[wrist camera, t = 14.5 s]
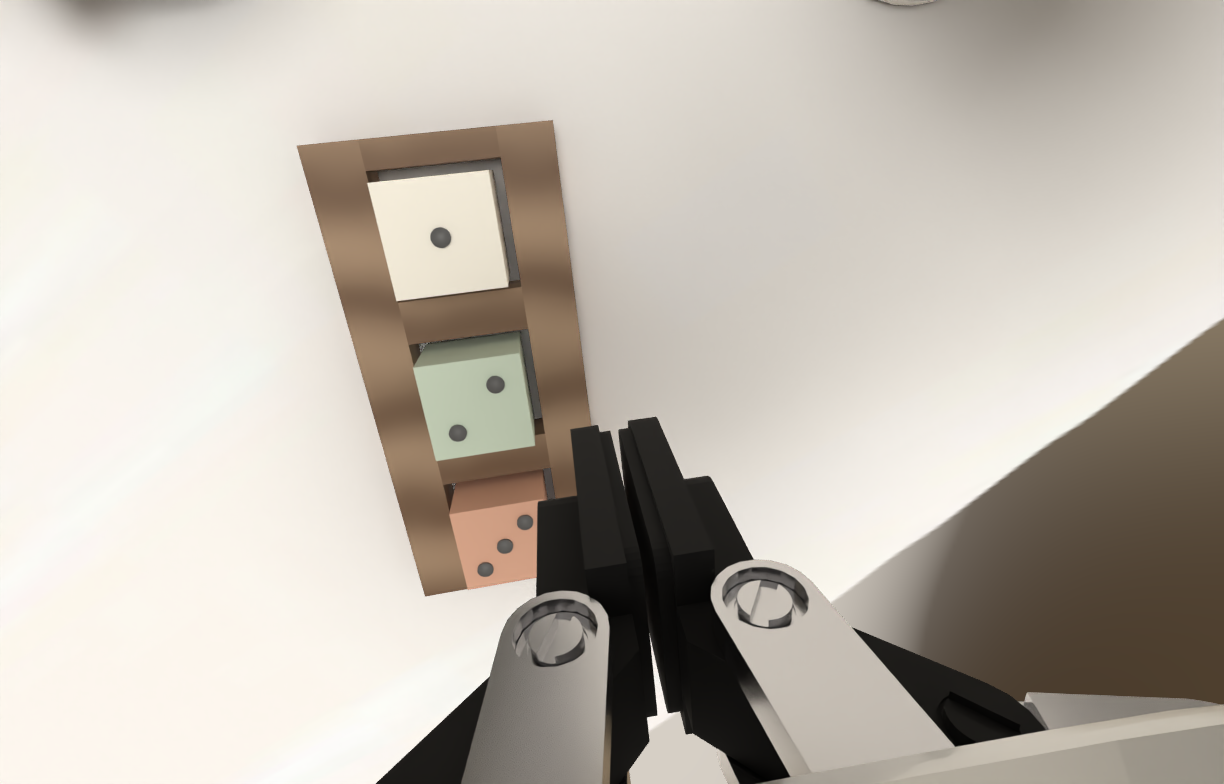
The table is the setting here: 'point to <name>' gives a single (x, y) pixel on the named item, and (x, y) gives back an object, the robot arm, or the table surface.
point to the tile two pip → (475, 395)
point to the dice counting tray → (454, 318)
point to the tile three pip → (498, 527)
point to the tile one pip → (441, 234)
